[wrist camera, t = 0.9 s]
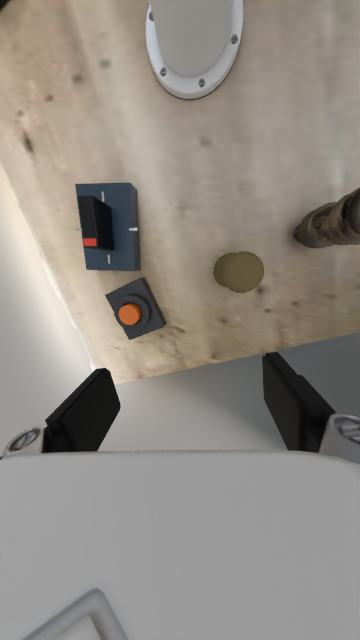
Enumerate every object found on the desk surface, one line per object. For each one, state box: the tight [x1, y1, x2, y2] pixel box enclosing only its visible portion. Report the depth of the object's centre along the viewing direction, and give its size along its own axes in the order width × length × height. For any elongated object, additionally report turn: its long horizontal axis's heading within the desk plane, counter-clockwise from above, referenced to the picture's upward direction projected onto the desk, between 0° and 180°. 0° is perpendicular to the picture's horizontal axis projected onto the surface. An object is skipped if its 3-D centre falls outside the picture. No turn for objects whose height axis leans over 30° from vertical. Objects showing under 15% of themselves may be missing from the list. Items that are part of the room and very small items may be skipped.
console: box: [75, 183, 140, 271], centre depth 31 cm, size 13×11×3 cm
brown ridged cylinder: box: [294, 188, 360, 248], centre depth 22 cm, size 6×6×15 cm
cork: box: [214, 252, 264, 293], centre depth 27 cm, size 6×6×11 cm
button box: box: [105, 278, 166, 340], centre depth 34 cm, size 10×8×4 cm
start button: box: [119, 303, 141, 325], centre depth 32 cm, size 4×4×2 cm
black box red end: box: [78, 196, 114, 250], centre depth 27 cm, size 6×2×5 cm, turn 179°
